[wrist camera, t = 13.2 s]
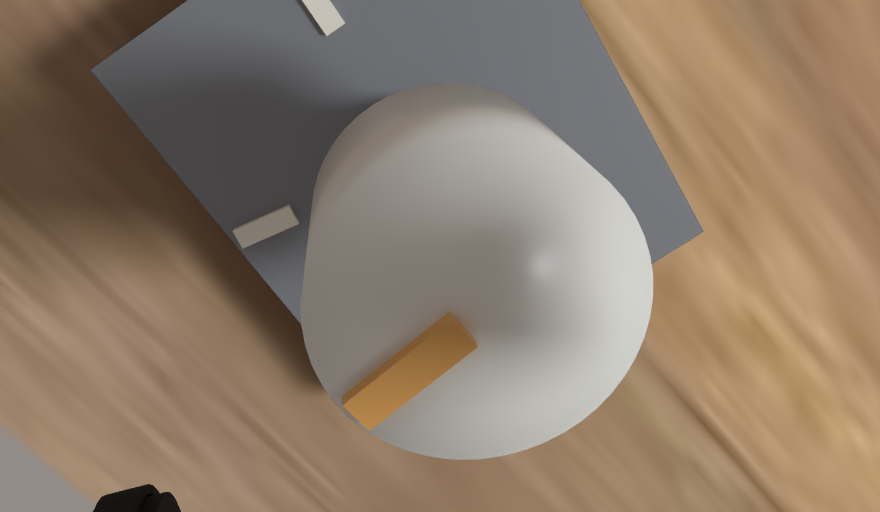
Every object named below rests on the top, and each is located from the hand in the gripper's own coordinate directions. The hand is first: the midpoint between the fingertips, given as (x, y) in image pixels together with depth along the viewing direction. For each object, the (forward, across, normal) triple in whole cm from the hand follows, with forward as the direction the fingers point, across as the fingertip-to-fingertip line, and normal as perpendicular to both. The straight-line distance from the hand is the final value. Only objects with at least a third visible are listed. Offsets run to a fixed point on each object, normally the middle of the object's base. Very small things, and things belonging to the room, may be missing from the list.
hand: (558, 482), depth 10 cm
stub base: (+17, 0, -1) cm, 17 cm away
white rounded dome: (+9, 0, -1) cm, 9 cm away
